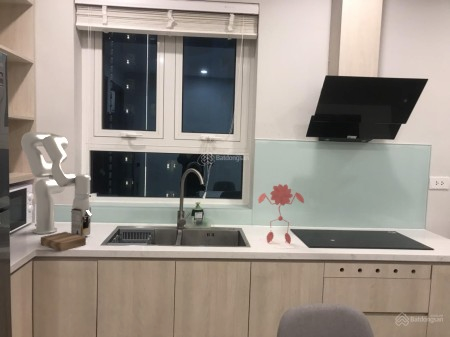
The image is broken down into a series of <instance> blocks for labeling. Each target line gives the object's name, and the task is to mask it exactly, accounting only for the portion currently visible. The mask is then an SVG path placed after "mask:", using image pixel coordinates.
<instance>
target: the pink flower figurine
mask: <svg viewBox="0 0 450 337" xmlns="http://www.w3.org/2000/svg"><path fill="white" fill-rule="evenodd" d="M272 189H273V190H272V191H270V195H271V197H270V199H269V197H268V196H267V194H266V193H265V192H263V193H262V194H260V195H259V196H258V199H257V200H258V204H261V203H262V202H264V201H265V199H267V200H268V202H269V203H270V204H271V205H276V206H277V205H278V212H279V216H278V217H277V218H276V219H274V220H271V221H270V222H269V224H270V225H269V226H270V227H272V222H275V221H284V222H287V228H289V226H290V222H289V221H287V220H286V219H284V217H283V216H282V214H281V211H280V210H281V209H280V208H281V206H285V204H286V205H292V204H293V202H294V200H295V197H296V199H297V200H298V202H300V203H302V204H305V200H304V197H303V195H301V194H300V193H299V192H297V191H295V194H294V195H293V194H292V189H291V188H289V186H288V184H286V183H285V184H284V185H283V184H280V183H279V184H278V185H273V186H272ZM291 198H292V199H291ZM271 201H274V203H272V202H271ZM274 236H275V235H274V232H273V231H270V232H268V233H267V235H266V242H267V244H269V243H270V242H272V241H273V239H274V238H275V237H274ZM284 239H285V242H286V243H288V244H289V245H290V244H291V243H292V242H291V241H292V238H291V235H290V234H289V229H287V230H286V232H285V234H284ZM260 241H261V238H260Z"/></svg>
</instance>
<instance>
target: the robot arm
mask: <svg viewBox="0 0 450 337" xmlns="http://www.w3.org/2000/svg"><path fill="white" fill-rule="evenodd" d="M68 145H69V142H68V140H67V138H66V137H65V136H63V135H59V134H55V133H51V132H42V131H28V132H26V133H24V134H23V135H22V138H21V145H20V146H21V149H22V151H23V153H24V154H25V156H26V158H27V162H28V165H29V168H30V170H31V173H32V176H33V177H34V178H36V179H37V178H38V179H39V180H37V181H36V182H35V183H34V187H33V188H34V193H35V202H36V203H35V204H36V206H35V207H36V209H35V210H36V218H35V219H36V223H35V224H34V227H35V229H33V231H32V232H33V234H37V235H50V234H55V233H56V232H58V228H57V227H55V199H54V197H53V196H52V195H55V194H60V193H63V192H64V190H65V188H69V187H74V198H73V202H72V208H71V211H70V212H71V213H72V209H74V208H76V209H80V210H82V217H83V220H84V222H83V229H86V228H88V227H89V220H90V221H91V219H90V218H92V213H91V214H90V207H91V205H90V176H89V175H88V174H81V173H78V172H70V173H64V171H63V169H62V167H61V164H62V163H65V162H66V160H67V159H68V155H67V153H66V151H65V150H66V149H67V148H68V147H69V146H68ZM38 147H43V148H44V150H45V152H46V153H47V155H48V157H49V158H50V160H51V161H46V160H45V158H44V155H43V152H42V151H41V150H40V149H39V148H38ZM85 215H86V216H85ZM85 217H86V219H85Z"/></svg>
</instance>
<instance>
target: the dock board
mask: <svg viewBox="0 0 450 337" xmlns="http://www.w3.org/2000/svg"><path fill="white" fill-rule="evenodd" d="M86 237H87V236H85V237H83V236H79V235H75V234H72V233H71V232H68V231H63V232H58V233H51V234H47V235H44V236H40V246H45V247H46V248H50V249H54V250H57V251H60V252H65V251H67V250H70V249H74V248H75V249H76V248H78V247H81V246H85V245H87V242H86V241H87V238H86Z"/></svg>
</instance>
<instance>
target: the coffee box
mask: <svg viewBox="0 0 450 337" xmlns="http://www.w3.org/2000/svg"><path fill="white" fill-rule="evenodd" d="M91 210H92V208H91V206H90V214H91V215H92V213H91V212H92V211H91ZM71 211H72V212H71V223H70V226H71V227H70V233H72V234H75V235H79V236H83V237H87V236H90V235H91V218H92V217H91V218H90V220H89V227H88V228H86V229H83V222H84V220H83V217H82V210H80V209H76V208H74V209H72V208H71ZM85 216H86V215H85ZM85 219H86V217H85Z"/></svg>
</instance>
